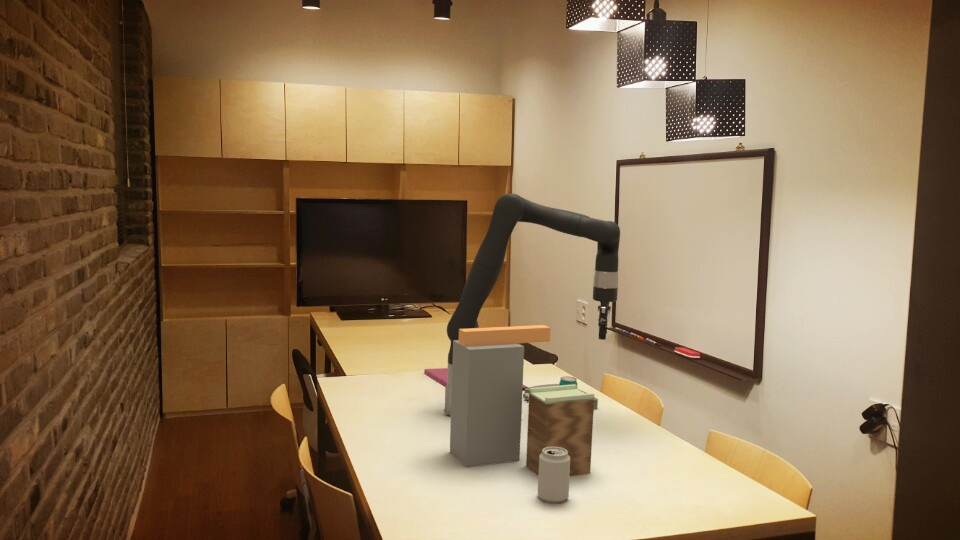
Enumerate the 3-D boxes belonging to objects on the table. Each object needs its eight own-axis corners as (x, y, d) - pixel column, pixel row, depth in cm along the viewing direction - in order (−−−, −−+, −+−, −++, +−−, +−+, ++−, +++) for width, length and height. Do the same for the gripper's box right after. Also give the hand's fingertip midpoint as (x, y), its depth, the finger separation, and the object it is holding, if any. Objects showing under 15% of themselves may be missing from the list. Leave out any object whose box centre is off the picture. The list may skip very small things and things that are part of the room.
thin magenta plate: (423, 365, 293) (484, 361, 305) (423, 375, 293) (483, 370, 306) (467, 390, 258) (534, 384, 270) (467, 401, 258) (533, 395, 270)
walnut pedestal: (543, 479, 190) (546, 404, 187) (526, 465, 199) (529, 393, 196) (590, 473, 195) (594, 399, 193) (571, 459, 204) (574, 389, 202)
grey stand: (465, 467, 196) (469, 349, 192) (449, 452, 207) (453, 340, 203) (519, 460, 202) (524, 346, 199) (501, 446, 213) (505, 337, 210)
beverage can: (574, 427, 232) (577, 381, 230) (556, 426, 233) (558, 379, 231) (576, 422, 238) (578, 377, 236) (558, 420, 239) (560, 375, 237)
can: (535, 491, 182) (537, 444, 181) (564, 491, 183) (567, 444, 181) (540, 504, 174) (542, 455, 173) (571, 504, 175) (573, 455, 174)
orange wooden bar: (463, 346, 196) (464, 331, 196) (458, 343, 200) (458, 328, 199) (549, 341, 206) (550, 327, 206) (543, 338, 210) (543, 324, 210)
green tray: (546, 404, 187) (547, 398, 187) (529, 393, 196) (529, 388, 196) (594, 399, 193) (594, 394, 193) (574, 389, 202) (574, 384, 202)
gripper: (594, 282, 236) (591, 331, 238) (592, 287, 222) (589, 340, 224) (618, 283, 235) (615, 333, 236) (617, 289, 221) (614, 342, 222)
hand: (602, 336), depth 230 cm, fingers open, 8 cm apart
